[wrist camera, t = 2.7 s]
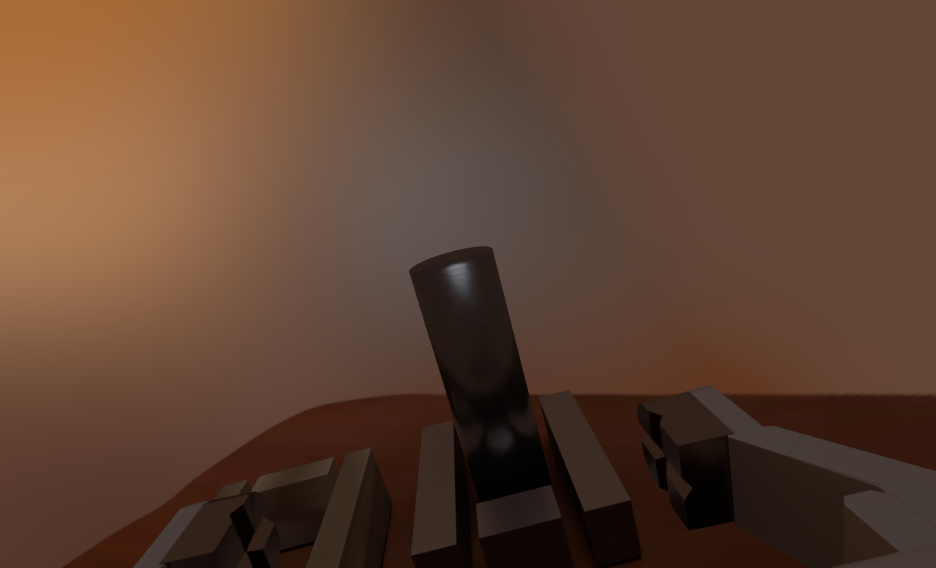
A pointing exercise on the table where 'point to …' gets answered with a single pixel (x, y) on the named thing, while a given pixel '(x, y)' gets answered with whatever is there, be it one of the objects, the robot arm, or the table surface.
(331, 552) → the rack
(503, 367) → the dark rounded handle
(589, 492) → the socket
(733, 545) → the table surface
